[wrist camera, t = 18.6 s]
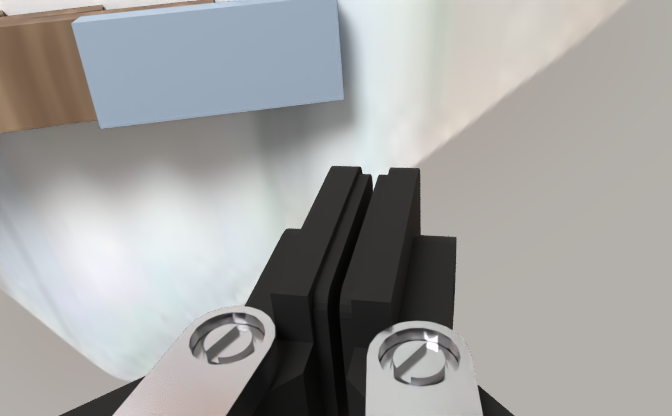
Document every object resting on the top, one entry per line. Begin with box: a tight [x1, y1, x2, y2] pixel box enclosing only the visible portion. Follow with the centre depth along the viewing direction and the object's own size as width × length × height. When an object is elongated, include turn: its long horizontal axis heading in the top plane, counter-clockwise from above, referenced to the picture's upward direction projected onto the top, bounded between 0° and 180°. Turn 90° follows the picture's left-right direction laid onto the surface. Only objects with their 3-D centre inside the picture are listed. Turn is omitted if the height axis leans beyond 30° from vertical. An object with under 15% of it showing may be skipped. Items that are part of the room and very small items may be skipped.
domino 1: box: [0, 0, 214, 133], centre depth 30 cm, size 2×5×12 cm
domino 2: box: [71, 0, 344, 129], centre depth 29 cm, size 2×5×12 cm
